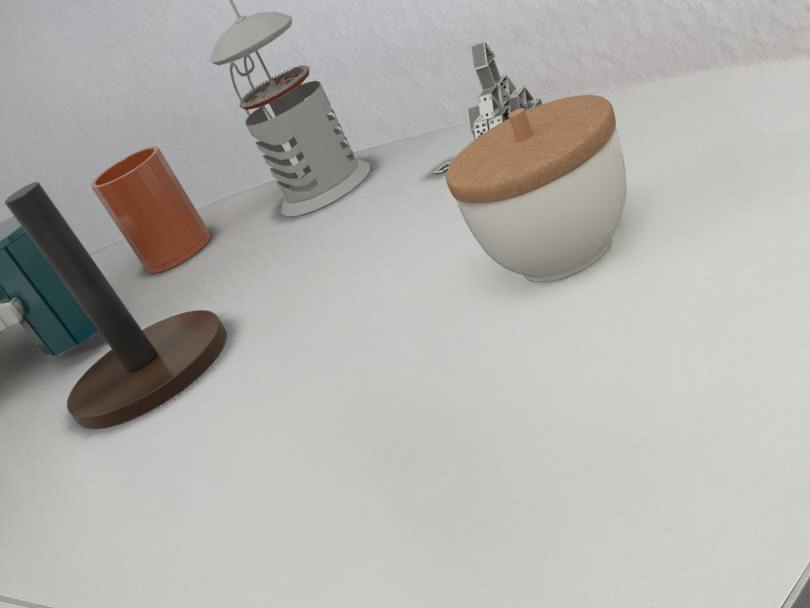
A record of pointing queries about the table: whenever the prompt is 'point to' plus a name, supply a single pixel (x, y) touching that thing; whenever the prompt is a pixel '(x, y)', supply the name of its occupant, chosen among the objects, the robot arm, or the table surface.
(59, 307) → the teal tall block
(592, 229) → the trinket box
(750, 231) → the table surface
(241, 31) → the french press
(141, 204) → the terracotta cup
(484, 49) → the house of cards
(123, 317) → the towel holder
